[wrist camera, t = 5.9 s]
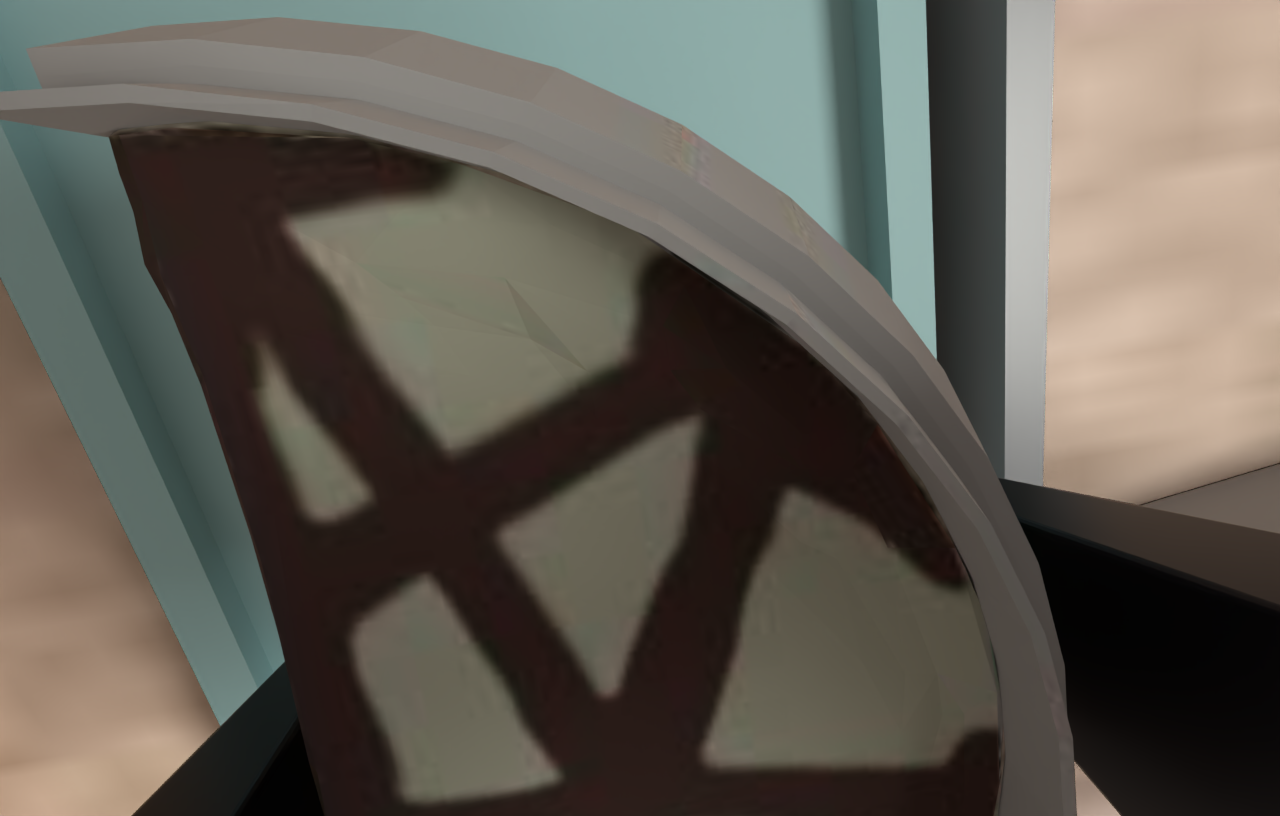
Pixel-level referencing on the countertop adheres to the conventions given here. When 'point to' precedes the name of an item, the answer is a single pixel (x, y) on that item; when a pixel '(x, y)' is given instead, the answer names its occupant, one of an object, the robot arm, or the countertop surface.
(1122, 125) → the countertop surface
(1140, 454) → the countertop surface
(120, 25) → the tray
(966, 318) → the grey rectangular frame
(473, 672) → the food container
